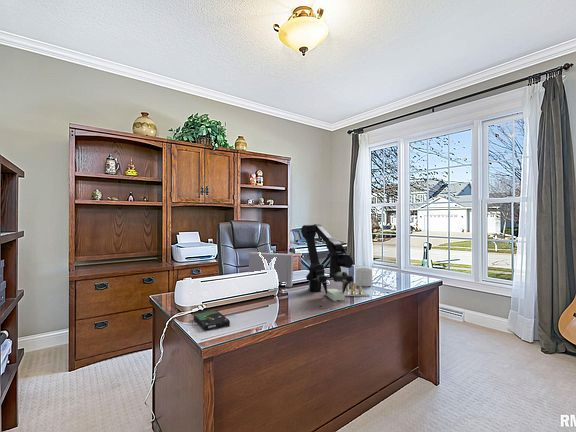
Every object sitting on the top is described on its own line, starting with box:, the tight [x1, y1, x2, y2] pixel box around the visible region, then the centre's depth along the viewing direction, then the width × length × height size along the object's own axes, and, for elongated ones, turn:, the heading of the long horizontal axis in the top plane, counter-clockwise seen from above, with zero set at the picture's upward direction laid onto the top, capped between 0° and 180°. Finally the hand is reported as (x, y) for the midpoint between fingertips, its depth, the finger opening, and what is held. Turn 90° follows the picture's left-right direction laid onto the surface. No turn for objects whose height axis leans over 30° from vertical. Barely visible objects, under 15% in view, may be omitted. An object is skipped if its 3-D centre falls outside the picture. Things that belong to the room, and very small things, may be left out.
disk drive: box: [193, 310, 231, 332], centre depth 120 cm, size 10×3×15 cm
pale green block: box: [325, 288, 345, 302], centre depth 160 cm, size 6×12×4 cm, turn 13°
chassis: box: [338, 282, 370, 297], centre depth 169 cm, size 14×12×5 cm
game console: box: [248, 251, 294, 288], centre depth 186 cm, size 6×27×20 cm, turn 78°
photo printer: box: [355, 266, 373, 287], centre depth 188 cm, size 10×4×12 cm, turn 86°
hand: (334, 294), depth 160 cm, fingers open, 9 cm apart
